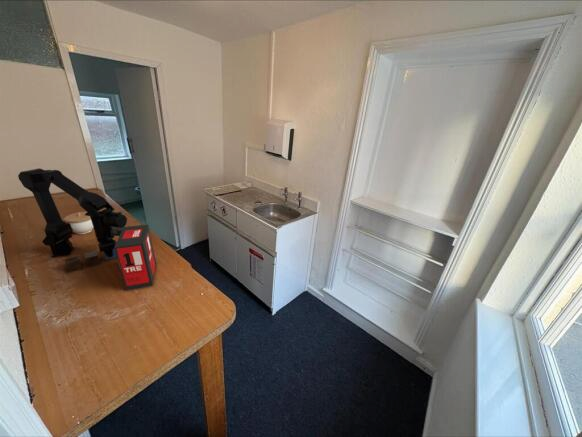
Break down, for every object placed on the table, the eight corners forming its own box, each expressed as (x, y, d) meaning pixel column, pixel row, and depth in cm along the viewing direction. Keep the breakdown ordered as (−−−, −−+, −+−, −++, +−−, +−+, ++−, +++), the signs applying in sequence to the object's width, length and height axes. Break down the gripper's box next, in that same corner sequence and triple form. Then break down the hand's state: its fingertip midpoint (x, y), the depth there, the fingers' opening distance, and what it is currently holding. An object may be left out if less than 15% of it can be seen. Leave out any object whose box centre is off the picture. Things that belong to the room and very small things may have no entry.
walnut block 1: (68, 272, 98) (64, 263, 96) (67, 267, 101) (64, 258, 99) (81, 268, 101) (78, 260, 99) (81, 263, 104) (78, 255, 102)
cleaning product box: (152, 285, 95) (143, 243, 86) (126, 290, 91) (114, 247, 83) (156, 262, 108) (148, 224, 100) (133, 266, 105) (123, 227, 97)
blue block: (105, 260, 106) (103, 251, 104) (104, 255, 109) (101, 247, 107) (117, 256, 109) (115, 248, 107) (115, 252, 112) (113, 244, 110)
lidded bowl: (69, 238, 121) (62, 219, 116) (68, 229, 129) (62, 211, 125) (99, 232, 129) (94, 214, 124) (97, 224, 137) (92, 206, 132)
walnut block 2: (88, 266, 102) (85, 258, 100) (87, 262, 105) (84, 253, 103) (100, 263, 105) (97, 255, 103) (99, 258, 108) (96, 250, 106)
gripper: (127, 228, 101) (134, 257, 107) (119, 213, 113) (126, 241, 120) (94, 235, 94) (104, 266, 100) (90, 218, 106) (99, 247, 112)
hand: (110, 254), depth 108 cm, fingers closed on blue block, 4 cm apart
